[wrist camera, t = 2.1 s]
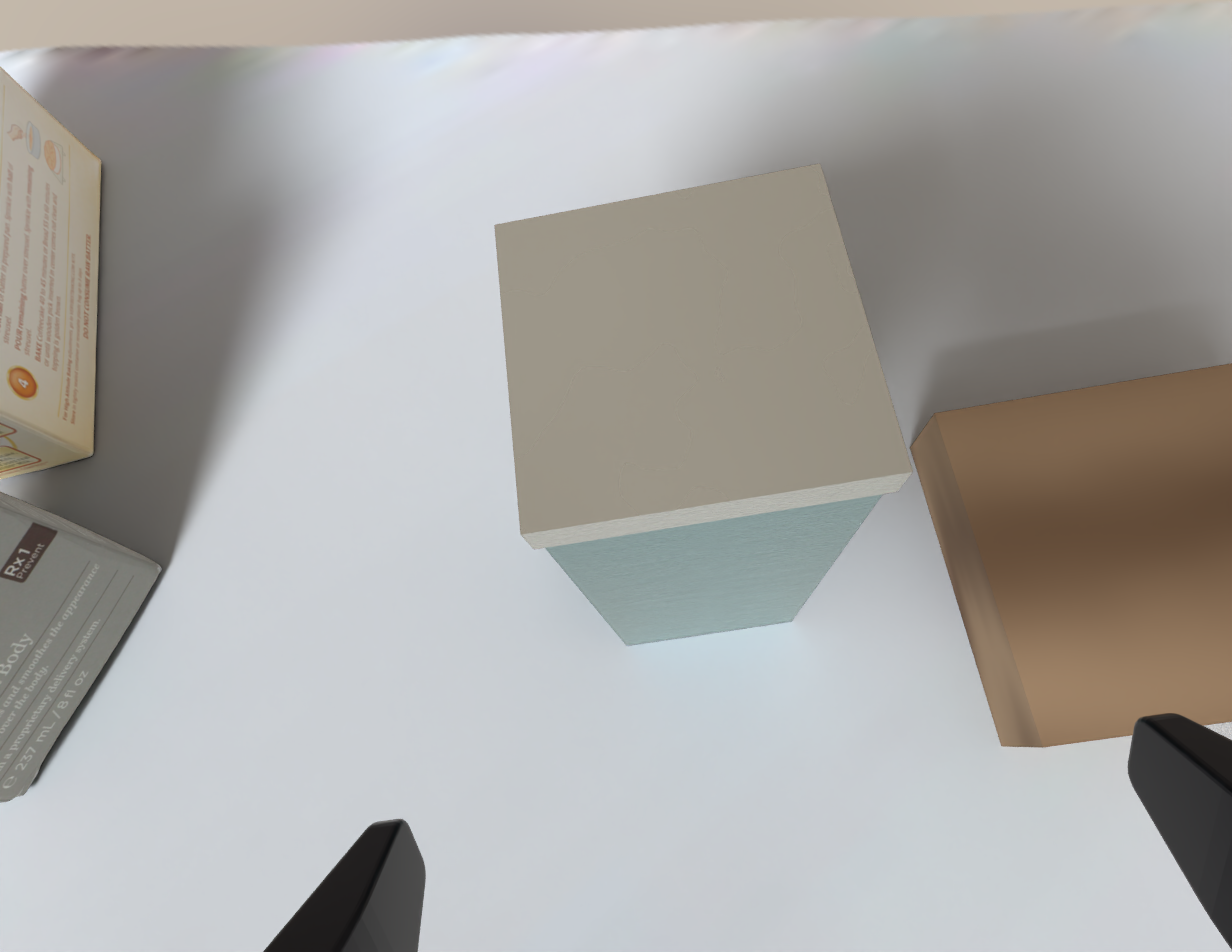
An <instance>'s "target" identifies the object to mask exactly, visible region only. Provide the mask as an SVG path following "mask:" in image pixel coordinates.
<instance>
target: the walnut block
mask: <svg viewBox="0 0 1232 952" xmlns="http://www.w3.org/2000/svg"><path fill="white" fill-rule="evenodd" d="M910 449H911V452H912V456H913V459H914V462H915V466H916V469H917V472H918V475H919V479H920V482H921V485H922V488H923V492H924V495H925V498H926V501H927V505H928V508H929V511H930V515H931V518H932V521H933V524H934V528H935V531H936V534H937V537H938V541H939V544H940V547H941V550H942V554H943V557H944V560H945V564H946V567H947V570H948V573H949V577H950V580H951V583H952V586H953V590H954V593H955V596H956V599H957V603H958V606H959V609H960V613H961V616H962V619H963V622H964V626H965V629H966V632H967V635H968V639H969V642H970V645H971V648H972V652H973V655H974V658H975V662H976V665H977V668H978V671H979V675H980V678H981V681H982V684H983V688H984V691H985V694H986V697H987V701H988V704H989V707H990V711H991V714H992V717H993V720H994V724H995V727H996V730H997V733H998V737H999V740H1000V743H1001V746H1009V747H1050V746H1057V745H1064V744H1071V743H1079V742H1086V741H1093V740H1101V739H1108V738H1115V737H1122V736H1130V735H1133V730H1134V725H1135V722H1136V721H1137V720H1138V719H1139V718H1141V717H1143V716H1151V715H1158V714H1165V713H1175V714H1179V715H1182V716H1184V717H1186V718H1188V719H1190V720H1192V721H1194V722H1196V723H1198V724H1200V725H1210V724H1217V723H1224V722H1232V363H1231V364H1225V365H1220V366H1214V367H1208V368H1202V369H1196V370H1190V371H1184V372H1178V373H1172V374H1166V375H1160V376H1154V377H1148V378H1142V379H1136V380H1130V381H1124V382H1118V383H1112V384H1106V385H1100V386H1094V387H1088V388H1082V389H1076V390H1070V391H1064V392H1058V393H1052V394H1046V395H1040V396H1034V397H1028V398H1022V399H1016V400H1010V401H1004V402H998V403H992V404H986V405H980V406H974V407H968V408H962V409H956V410H950V411H945V412H939V413H934V415H933V416H932V417H931V419H930V420H929V422H928V423H927V425H926V426H925V427H924V429H923V430H922V432H921V433H920V434H919V436H918V437H917V439H916V440H915V442H914V443H913V444H912V446H911V447H910Z"/></svg>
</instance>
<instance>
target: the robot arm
mask: <svg viewBox="0 0 1232 952" xmlns="http://www.w3.org/2000/svg"><path fill="white" fill-rule="evenodd" d="M1128 774H1129V778H1130V781H1131V783H1132V786H1133V788H1134V790H1135V791H1136V793H1137V795H1138V797H1139V798H1140V800H1141V802H1142V803H1143V805H1144V807H1145V809H1146V810H1147V812H1148V814H1149V815H1150V817H1151V819H1152V821H1153V822H1154V824H1155V826H1156V827H1157V829H1158V831H1159V833H1160V834H1161V836H1162V838H1163V839H1164V841H1165V843H1166V845H1167V846H1168V848H1169V850H1170V851H1171V853H1172V855H1173V857H1174V858H1175V860H1176V862H1177V863H1178V865H1179V867H1180V869H1181V870H1182V872H1183V874H1184V875H1185V877H1186V879H1187V880H1188V882H1189V884H1190V886H1191V887H1192V889H1193V891H1194V892H1195V894H1196V896H1197V898H1198V899H1199V901H1200V902H1201V904H1202V906H1203V907H1204V909H1205V910H1206V912H1207V914H1208V915H1209V917H1210V919H1211V920H1212V922H1213V923H1214V924H1215V926H1216V927H1217V929H1218V930H1219V932H1220V933H1221V935H1222V936H1223V938H1224V939H1225V941H1226V942H1227V943H1228V945H1229V946H1230V948H1231V949H1232V740H1230V739H1228V738H1226V737H1224V736H1222V735H1220V734H1218V733H1216V732H1214V731H1212V730H1210V729H1208V728H1206V727H1204V726H1202V725H1200V724H1198V723H1196V722H1194V721H1192V720H1190V719H1188V718H1186V717H1184V716H1182V715H1179V714H1175V713H1165V714H1158V715H1151V716H1143V717H1141V718H1139V719H1138V720H1137V721H1136V722H1135V725H1134V730H1133V736H1132V742H1131V748H1130V754H1129V760H1128ZM425 879H426V874H425V865H424V861H423V858H422V856H421V853H420V851H419V848H418V846H417V844H416V841H415V839H414V837H413V834H412V832H411V829H410V827H409V825H408V823H407V822H406V821H405V820H403V819H394V820H387V821H380V822H375V823H373V824H372V825H370V826H369V827H368V828H367V829H366V830H365V831H364V832H363V834H362V835H361V836H360V837H359V838H358V840H357V841H356V842H355V843H354V844H353V846H352V847H351V848H350V849H349V850H348V852H347V853H346V854H345V855H344V856H343V857H342V859H341V860H340V861H339V862H338V863H337V865H336V866H335V867H334V868H333V869H332V871H331V872H330V873H329V874H328V875H327V876H326V878H325V879H324V880H323V881H322V882H321V884H320V885H319V886H318V887H317V888H316V890H315V891H314V892H313V893H312V894H311V895H310V897H309V898H308V899H307V900H306V901H305V903H304V904H303V905H302V906H301V907H300V909H299V910H298V911H297V912H296V913H295V915H294V916H293V917H292V918H291V919H290V920H289V922H288V923H287V924H286V925H285V926H284V928H283V929H282V930H281V931H280V932H279V934H278V935H277V936H276V937H275V938H274V939H273V941H272V942H271V943H270V944H269V945H268V947H267V948H266V949H265V950H264V951H263V952H418V943H419V934H420V925H421V916H422V907H423V898H424V889H425Z"/></svg>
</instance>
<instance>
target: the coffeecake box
mask: <svg viewBox="0 0 1232 952" xmlns="http://www.w3.org/2000/svg"><path fill="white" fill-rule="evenodd" d="M100 184H101V160H100V159H99V158H98V157H97V156H95V155H94V154H93V153H91V152H90V151H89V150H88V149H87V148H86V147H85V146H84V145H83V144H82V143H81V142H80V141H79V140H78V139H77V138H75V137H74V136H73V135H72V134H71V133H70V132H69V131H68V130H67V129H66V128H65V127H64V126H62V125H61V124H60V123H59V122H58V121H57V120H56V119H55V118H54V117H53V116H52V115H51V114H50V113H49V112H48V111H47V110H45V109H44V108H43V107H42V106H41V105H40V104H39V103H38V102H37V101H36V100H35V99H34V98H33V97H32V96H31V95H30V94H29V93H28V92H27V91H25V90H24V89H23V88H22V87H21V86H20V85H19V84H18V83H17V82H16V81H15V80H14V79H13V78H12V77H11V76H10V75H9V74H8V73H7V72H6V71H5V70H4V69H3V68H1V67H0V480H1V479H4V478H8V477H12V476H16V475H20V474H25V473H29V472H34V471H39V470H44V469H47V468H51V467H54V466H58V465H62V464H66V463H69V462H73V461H76V460H80V459H83V458H87V457H90V456H92V455H93V443H94V405H95V376H96V335H97V293H98V266H99V220H100Z"/></svg>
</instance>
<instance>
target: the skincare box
mask: <svg viewBox="0 0 1232 952" xmlns="http://www.w3.org/2000/svg"><path fill="white" fill-rule="evenodd" d="M161 569H162V568H161V567H160V565H159V564H157V563H156V562H154V561H152V560H151V559H149V558H147V557H145V556H143V555H141V554H139V553H137V552H135V551H133V550H131V549H129V548H127V547H124V546H122V545H120V544H118V543H116V542H114V541H112V540H110V539H107V538H105V537H103V536H101V535H99V534H97V533H95V532H92V531H90V530H88V529H86V528H84V527H82V526H79V525H77V524H75V523H73V522H71V521H69V520H66V519H64V518H62V517H60V516H58V515H55V514H53V513H50V512H48V511H45V510H43V509H41V508H38V507H36V506H33V505H31V504H29V503H26V502H24V501H22V500H19V499H17V498H14V497H12V496H9V495H7V494H4V493H2V492H0V803H1V802H7V801H10V800H12V799H14V798H15V797H17V796H22V795H24V794H25V793H26V792H27V790H28V788H29V787H30V785H31V783H32V782H33V780H34V779H35V777H36V775H37V774H38V772H39V769H40V765H41V764H42V762H43V760H44V759H45V757H46V755H47V754H48V752H49V750H50V749H51V747H52V746H53V744H54V742H55V741H56V739H57V737H58V736H59V734H60V732H61V731H62V729H63V728H64V726H65V725H66V723H67V722H68V720H69V719H70V717H71V716H72V714H73V713H74V711H75V710H76V708H77V707H78V705H79V704H80V702H81V701H82V699H83V697H84V696H85V694H86V693H87V691H88V690H89V688H90V687H91V685H92V684H93V682H94V680H95V679H96V677H97V676H98V674H99V673H100V671H101V669H102V668H103V666H104V665H105V663H106V661H107V660H108V658H109V657H110V655H111V653H112V652H113V650H114V649H115V647H116V646H117V644H118V642H119V641H120V639H121V637H122V636H123V634H124V632H125V631H126V629H127V628H128V626H129V625H130V623H131V621H132V619H133V617H134V616H135V615H136V613H137V611H138V609H139V608H140V606H141V604H142V603H143V601H144V599H145V598H146V596H147V594H148V592H149V590H150V589H151V587H152V585H153V584H154V582H155V581H156V579H157V577H158V575H159V573H160V572H161Z"/></svg>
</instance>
